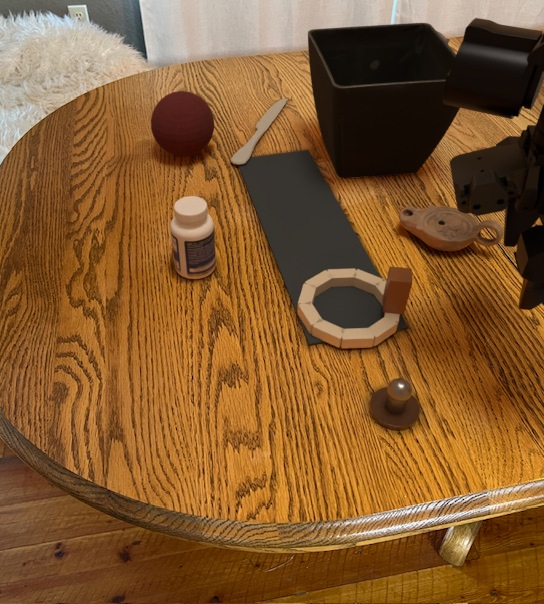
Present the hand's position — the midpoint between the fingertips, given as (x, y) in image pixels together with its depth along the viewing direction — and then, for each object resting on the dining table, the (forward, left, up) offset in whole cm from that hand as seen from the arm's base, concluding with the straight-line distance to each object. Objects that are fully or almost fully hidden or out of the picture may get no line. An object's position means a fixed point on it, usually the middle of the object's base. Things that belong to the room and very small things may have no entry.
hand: (516, 275), depth 59 cm
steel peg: (+1, +14, -12) cm, 18 cm away
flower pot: (+36, -20, -12) cm, 43 cm away
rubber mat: (+28, 0, -12) cm, 30 cm away
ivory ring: (+14, +7, -11) cm, 19 cm away
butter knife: (+53, -12, -12) cm, 56 cm away
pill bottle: (+32, +17, -12) cm, 38 cm away
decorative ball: (+56, +2, -12) cm, 57 cm away
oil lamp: (+15, -12, -12) cm, 23 cm away
